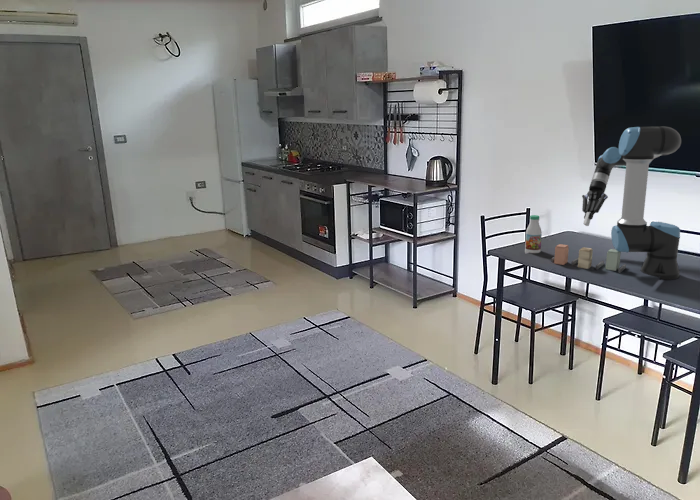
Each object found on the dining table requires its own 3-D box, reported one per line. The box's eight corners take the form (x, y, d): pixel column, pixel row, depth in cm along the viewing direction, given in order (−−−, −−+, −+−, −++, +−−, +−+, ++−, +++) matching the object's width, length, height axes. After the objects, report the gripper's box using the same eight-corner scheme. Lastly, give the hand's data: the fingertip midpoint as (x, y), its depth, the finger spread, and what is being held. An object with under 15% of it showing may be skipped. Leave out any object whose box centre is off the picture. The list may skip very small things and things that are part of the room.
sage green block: (608, 266, 251) (610, 248, 249) (619, 268, 248) (621, 250, 246) (605, 269, 247) (607, 251, 245) (615, 270, 244) (617, 252, 242)
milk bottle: (521, 252, 283) (523, 215, 278) (534, 251, 285) (536, 213, 280) (530, 256, 276) (532, 217, 271) (543, 254, 278) (545, 216, 273)
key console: (558, 259, 268) (558, 253, 268) (625, 270, 249) (626, 264, 248) (550, 264, 261) (550, 258, 260) (619, 275, 241) (620, 269, 241)
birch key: (581, 264, 255) (582, 247, 253) (591, 266, 252) (592, 248, 250) (577, 267, 251) (579, 249, 249) (587, 268, 248) (589, 250, 246)
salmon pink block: (558, 261, 262) (559, 243, 260) (567, 262, 259) (568, 245, 257) (554, 263, 258) (555, 246, 256) (563, 265, 255) (564, 247, 253)
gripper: (614, 186, 272) (602, 228, 266) (590, 188, 282) (577, 228, 277) (607, 178, 268) (594, 221, 262) (583, 180, 278) (570, 221, 273)
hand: (586, 224), depth 270 cm, fingers closed
